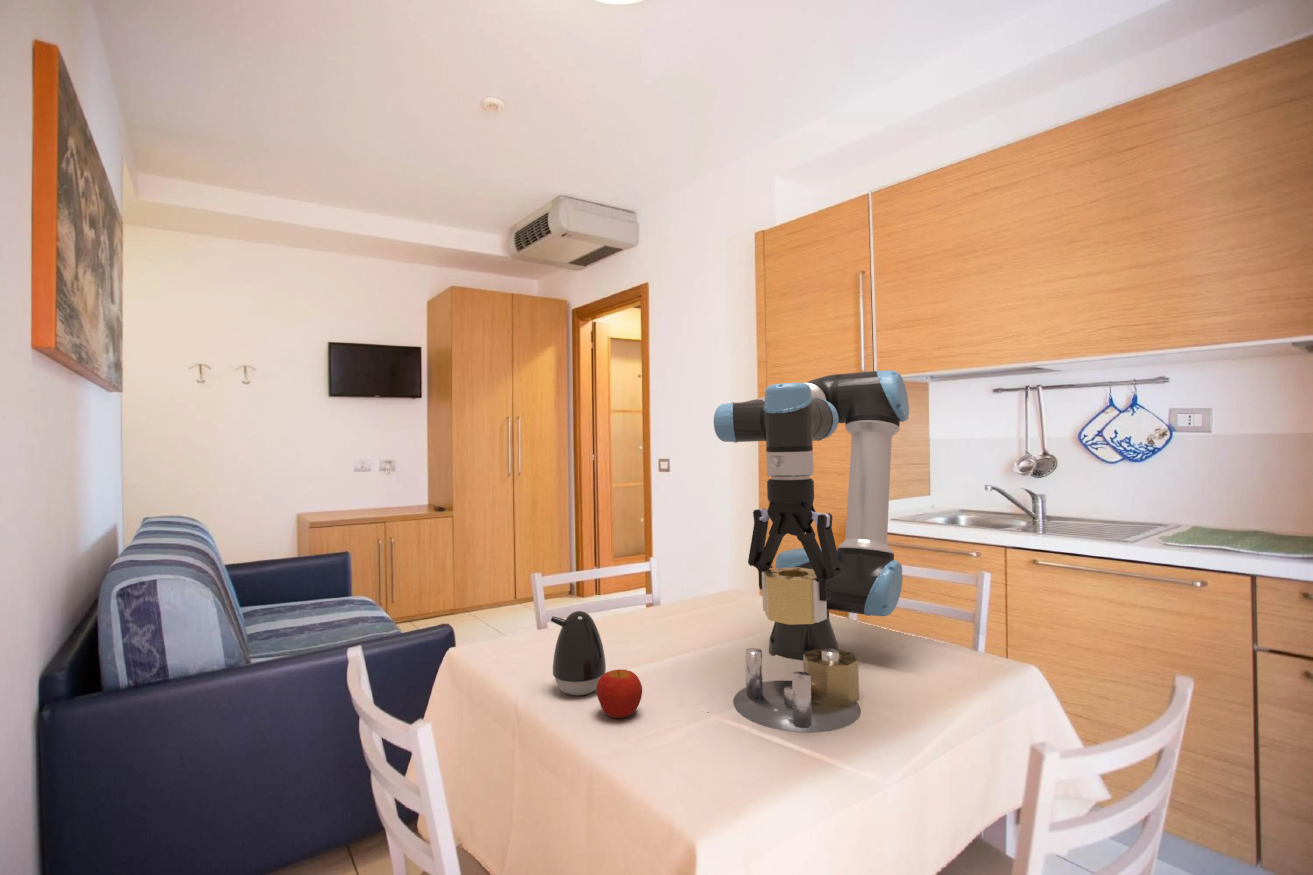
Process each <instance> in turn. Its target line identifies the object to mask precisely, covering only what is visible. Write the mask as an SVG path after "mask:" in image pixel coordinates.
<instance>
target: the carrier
mask: <svg viewBox="0 0 1313 875" xmlns="http://www.w3.org/2000/svg"><path fill="white" fill-rule="evenodd" d="M744 653H745V687H744V688H742V689H741V690H739V691H737V693H736V694H735V695H734V697H733V701H732V703H733V707H734V709H735V710H736V712H737V713H738V714H740V716H742V717H743V718H745V719H746V720H748V721H751V722H753V723H755V724H757V725H760V726H763V727H766V728H769V729H770V728H771V729H774V730H779V731H785V732H791V733H792V732H793V733H806V734H807V733H824V732H831V731H836V730H840V729H844V728H846V727H848V726H850V725H852V724H854V723H855V722H857V721H858V720H859V718H860V716H861V714H862V708H861V706H860V704H859V702H857V701H855V702H854V703H852V704H851V705H849V706H827V705H823V704H820V703H817V702H814V701H811V675H810V674H809V673H807V672H804V671H795V672H792V674H791V677H792V678H791V680H772V681H771V680H769V681H764V682H763V650H762V649H760V648H757V647H750V648H746V649H745V651H744ZM822 660H824V661H828V662H831V661H839V652H838V651H837V650H834V649H823V650H822Z"/></svg>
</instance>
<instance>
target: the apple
mask: <svg viewBox="0 0 1313 875" xmlns="http://www.w3.org/2000/svg"><path fill="white" fill-rule="evenodd" d="M640 680H641V679H639V677H638V675H636V673H634V672H633V671H631V670H629V669H628V670H627V669H620V668H619V669H614V670H610V671H607V672H605V673H604V674H603V675H602V676H601V678H600V679H599V681H598V683H597V687H596V696H597V700H598V702H599V705H600V707H601V709H602V710H603V713H604V714H606V715H607V716H609V717H610V718H613V719H623V718H627V717H629V716H630V715H632V714H635V712H637V709H638V708H639V705H640V703H641V700H642V696H643V685H642V683H641V681H640Z"/></svg>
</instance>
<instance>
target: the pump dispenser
mask: <svg viewBox="0 0 1313 875" xmlns="http://www.w3.org/2000/svg"><path fill="white" fill-rule="evenodd" d="M550 622H551V623H554V624H555V625H558V626H560V627H561V629H560V631H559V634H558V636H557V639H556V643H555V647H554V652H553V654H554V655H553V662H552V675H553V677H554V680H555V683H556V685H557V687H558V688H559V689H560V690H561V692H563V693H565V694H567V695H569V696H570V695H571V696H576V697H577V696H585V695H588V694H591V693H592V692H595V691H597V689H596V687H597V683H598V681H599V679H600V678H601V676H602V675H603V674H604V673H606V671H607V669H606V666H607V664H606V662H607V661H606V657H605V649H604V644H603V641H602V638H601V636H600V633H599V630H598V627H597V625H596V623H595V621H594V620H593V618H592V616H591V615H590V614H589V613H587V612H585V611H583V610H577V611H574V612H571V613H570V614H569V615H568V616H567V617H566V618H562V617H557V616H554V615H553V616H551V618H550Z"/></svg>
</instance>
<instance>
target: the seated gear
mask: <svg viewBox="0 0 1313 875" xmlns="http://www.w3.org/2000/svg"><path fill="white" fill-rule="evenodd" d="M822 650H823V649H813V650H811V651H809V652H806V653H804V654H803V660H802V661H803V664H802V665H803V666H802V667H803V672H807V673H809V674H810V675H811V701H814V702H817V703H820V704H823V705H827V706H849V705H851V704H852V703H854V702H855V701H856V702H857V701H859V700H860V686H859V685H860V684H859V682H860V681H859V676H860V675H859V659H858V658H857V657H856V656H855V655H854V654H853V653H852V652H848V651H844V650H840V649H838V650H837V651H838V652H839V661H831V662H828V661H824V660H822ZM834 650H836V649H834Z"/></svg>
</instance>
